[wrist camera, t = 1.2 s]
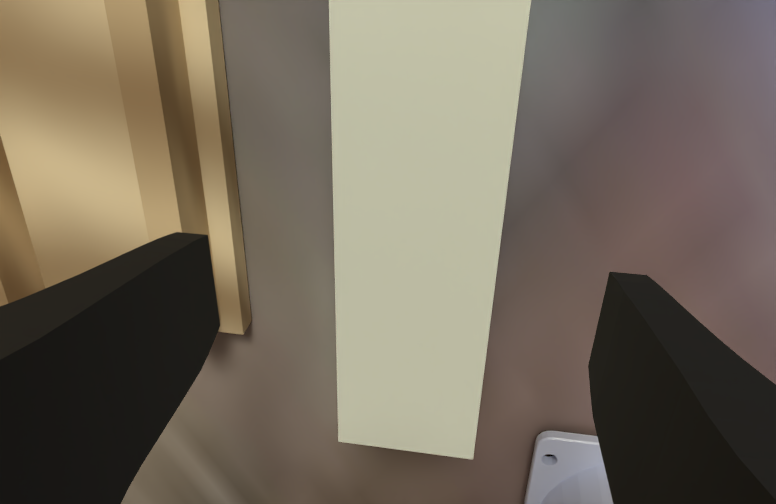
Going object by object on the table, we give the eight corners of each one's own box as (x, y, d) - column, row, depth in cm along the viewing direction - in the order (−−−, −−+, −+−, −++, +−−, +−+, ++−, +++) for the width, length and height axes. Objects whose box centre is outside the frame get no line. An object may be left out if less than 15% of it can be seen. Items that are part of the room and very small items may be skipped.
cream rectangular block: (478, 340, 20) (473, 459, 16) (371, 329, 21) (338, 441, 16) (527, -79, 14) (539, -71, 10) (376, -83, 15) (327, -77, 11)
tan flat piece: (251, 320, 21) (224, 366, 19) (21, 295, 22) (-28, 335, 20) (192, -244, 14) (137, -270, 12) (-149, -242, 15) (-255, -266, 13)
